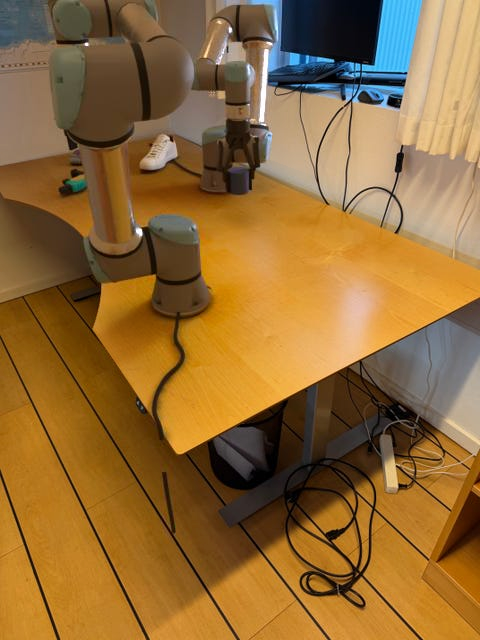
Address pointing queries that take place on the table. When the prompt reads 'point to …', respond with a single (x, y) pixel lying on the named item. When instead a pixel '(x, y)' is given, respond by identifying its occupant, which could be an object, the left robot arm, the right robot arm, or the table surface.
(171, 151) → the sneaker
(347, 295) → the table surface
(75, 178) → the toy gun
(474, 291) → the table surface
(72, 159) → the toy gun
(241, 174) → the cylinder
